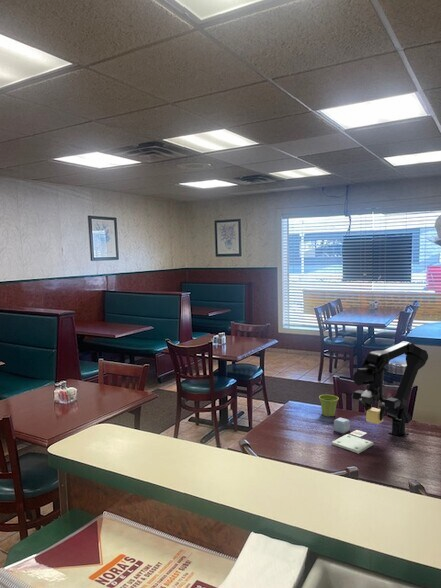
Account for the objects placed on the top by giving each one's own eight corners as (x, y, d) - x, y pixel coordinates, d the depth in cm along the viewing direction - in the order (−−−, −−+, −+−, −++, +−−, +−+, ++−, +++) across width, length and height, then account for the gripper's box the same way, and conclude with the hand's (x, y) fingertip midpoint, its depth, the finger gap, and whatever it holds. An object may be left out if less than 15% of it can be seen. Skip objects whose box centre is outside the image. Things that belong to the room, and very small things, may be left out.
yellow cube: (371, 418, 187) (372, 406, 187) (383, 421, 184) (383, 409, 183) (366, 421, 184) (366, 409, 183) (377, 424, 180) (377, 412, 180)
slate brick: (339, 427, 198) (339, 416, 198) (349, 430, 195) (349, 419, 194) (333, 430, 195) (333, 419, 194) (343, 433, 191) (343, 422, 191)
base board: (347, 436, 188) (347, 433, 188) (373, 444, 180) (373, 441, 180) (331, 444, 180) (331, 441, 180) (358, 453, 171) (358, 450, 171)
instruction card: (356, 430, 195) (356, 429, 195) (367, 433, 191) (367, 432, 191) (349, 433, 191) (349, 433, 191) (360, 437, 187) (360, 436, 187)
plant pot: (340, 413, 216) (341, 396, 215) (334, 419, 208) (335, 401, 207) (322, 410, 221) (322, 393, 220) (316, 415, 213) (316, 398, 212)
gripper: (345, 381, 184) (344, 417, 185) (388, 391, 170) (387, 430, 171) (359, 376, 191) (358, 411, 193) (401, 385, 178) (399, 422, 179)
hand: (374, 418), depth 184 cm, fingers closed on yellow cube, 5 cm apart
